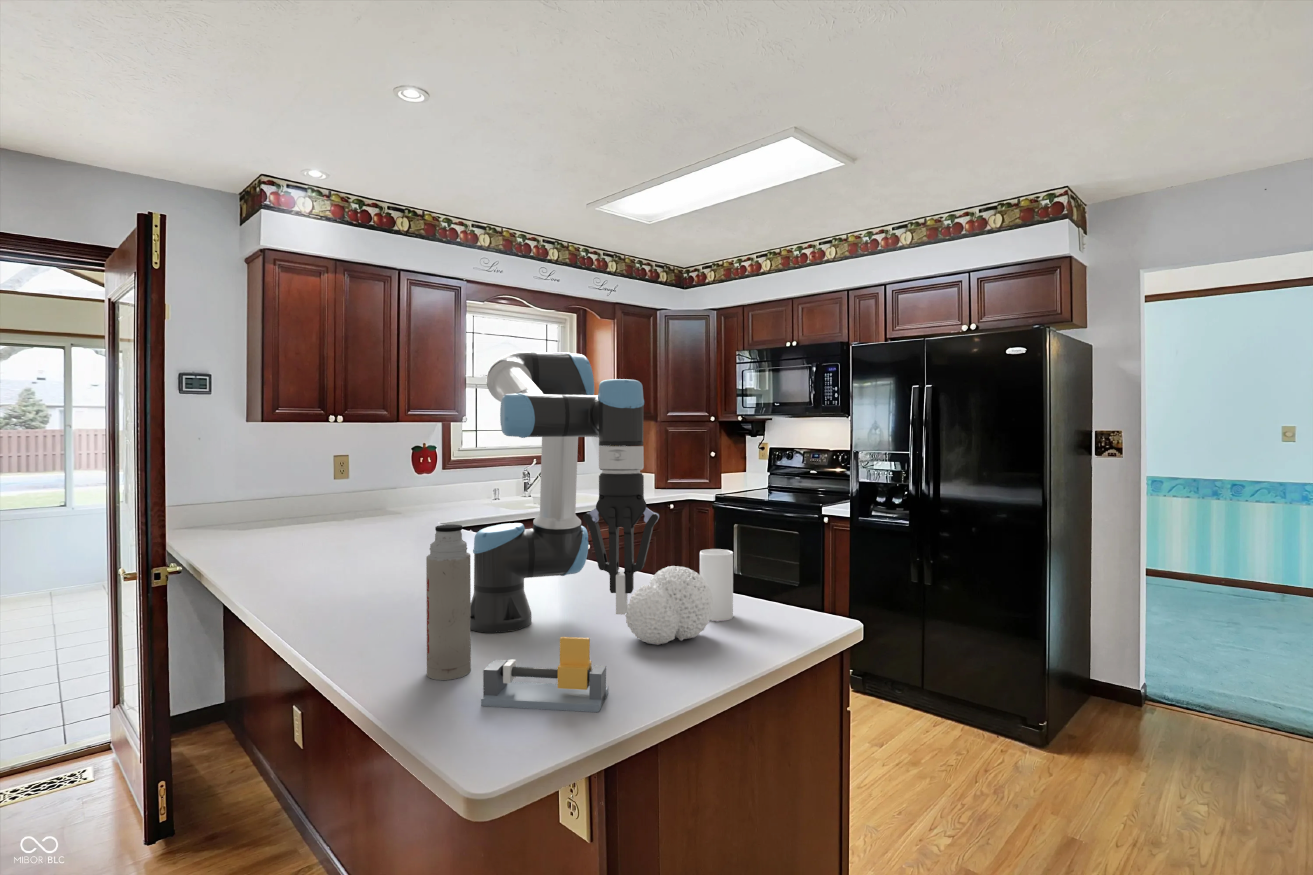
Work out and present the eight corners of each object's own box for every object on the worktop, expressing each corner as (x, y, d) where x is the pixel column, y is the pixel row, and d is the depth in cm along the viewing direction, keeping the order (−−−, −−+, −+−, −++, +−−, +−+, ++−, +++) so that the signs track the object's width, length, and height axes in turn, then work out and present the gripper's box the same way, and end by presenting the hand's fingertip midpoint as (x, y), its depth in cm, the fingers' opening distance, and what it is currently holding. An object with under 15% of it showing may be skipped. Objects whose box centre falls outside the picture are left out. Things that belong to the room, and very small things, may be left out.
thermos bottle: (421, 680, 122) (421, 528, 122) (432, 665, 130) (432, 522, 130) (466, 679, 123) (465, 528, 123) (474, 664, 131) (473, 522, 131)
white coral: (682, 584, 162) (679, 539, 151) (732, 631, 151) (732, 587, 140) (615, 631, 153) (607, 587, 143) (663, 685, 142) (658, 641, 132)
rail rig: (480, 705, 111) (479, 669, 111) (497, 687, 119) (497, 653, 119) (598, 712, 109) (598, 675, 109) (608, 692, 117) (608, 658, 117)
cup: (731, 621, 160) (731, 555, 160) (697, 619, 162) (697, 554, 162) (734, 612, 168) (734, 549, 168) (701, 611, 170) (702, 548, 170)
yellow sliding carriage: (557, 688, 112) (557, 640, 112) (563, 680, 115) (563, 634, 115) (586, 689, 111) (586, 641, 111) (591, 681, 115) (591, 635, 115)
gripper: (577, 472, 109) (578, 617, 109) (657, 473, 107) (657, 619, 107) (588, 470, 117) (588, 605, 117) (662, 470, 115) (662, 607, 115)
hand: (621, 612), depth 112 cm, fingers closed
